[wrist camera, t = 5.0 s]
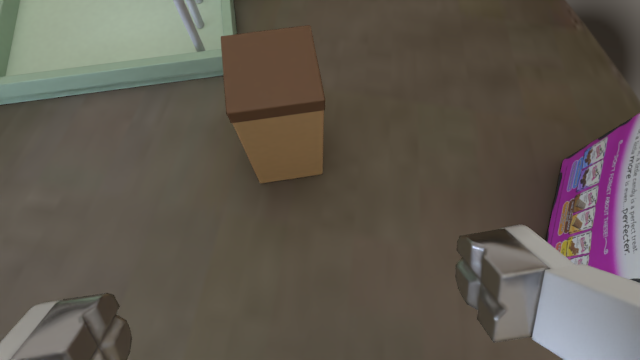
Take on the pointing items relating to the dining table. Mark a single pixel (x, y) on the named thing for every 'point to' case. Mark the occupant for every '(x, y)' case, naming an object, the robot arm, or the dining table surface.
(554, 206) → the candy bar box
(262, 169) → the kraft box
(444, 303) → the dining table surface
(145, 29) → the dish rack
